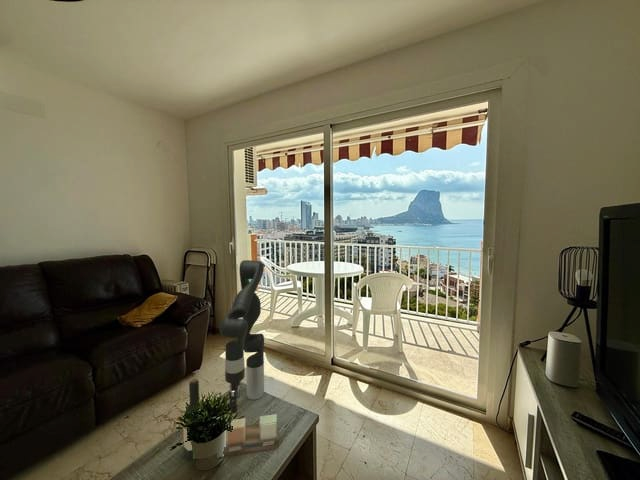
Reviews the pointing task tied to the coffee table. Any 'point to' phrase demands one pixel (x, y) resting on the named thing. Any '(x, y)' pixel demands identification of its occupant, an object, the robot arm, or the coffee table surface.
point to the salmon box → (237, 432)
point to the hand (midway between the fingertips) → (235, 404)
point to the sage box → (268, 427)
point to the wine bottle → (193, 405)
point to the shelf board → (251, 443)
